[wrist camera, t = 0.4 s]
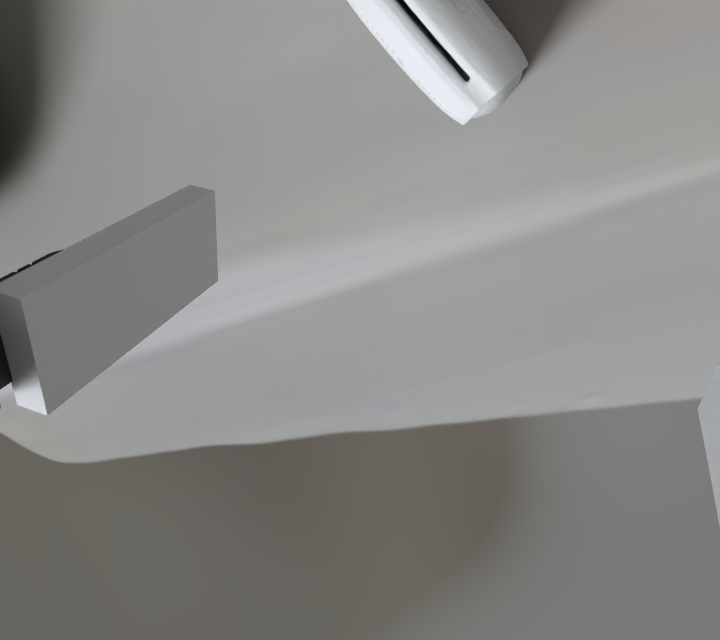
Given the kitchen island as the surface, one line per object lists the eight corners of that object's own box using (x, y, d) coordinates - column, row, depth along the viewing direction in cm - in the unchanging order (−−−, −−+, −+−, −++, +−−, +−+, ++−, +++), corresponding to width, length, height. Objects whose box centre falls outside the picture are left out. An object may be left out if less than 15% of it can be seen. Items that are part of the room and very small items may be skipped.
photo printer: (373, -13, 37) (301, -32, 27) (425, -74, 35) (370, -121, 25) (483, 117, 39) (458, 149, 28) (540, 66, 37) (535, 79, 26)
